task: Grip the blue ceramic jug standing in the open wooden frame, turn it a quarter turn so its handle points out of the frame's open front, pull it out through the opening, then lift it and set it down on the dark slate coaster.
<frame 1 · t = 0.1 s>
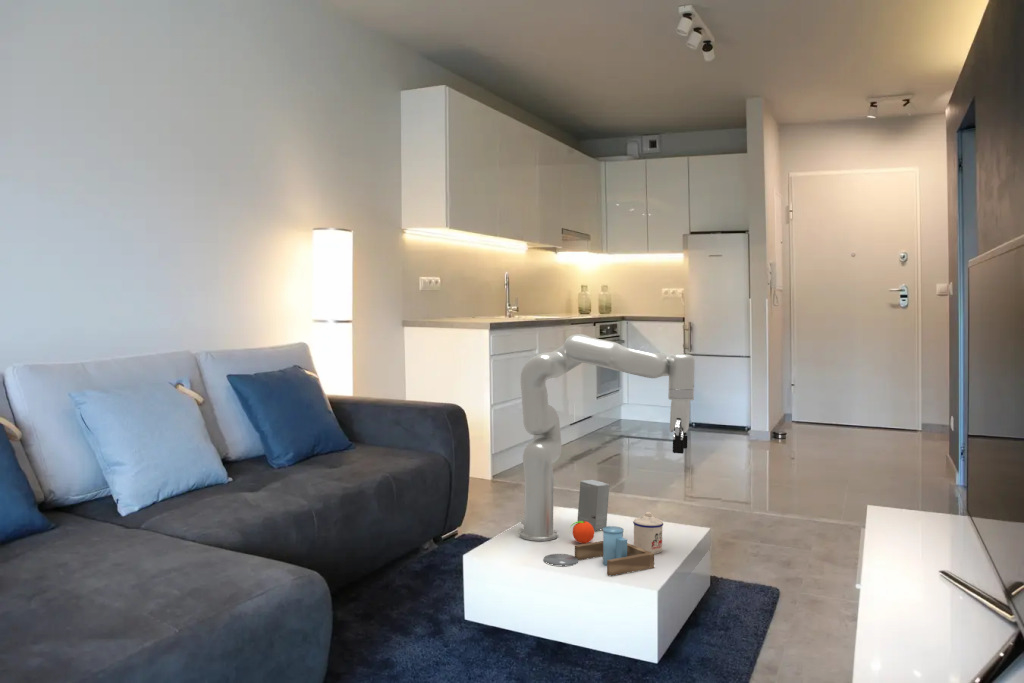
hand: (680, 450, 228), 31 cm above the table, tool pointing down, fingers open, 9 cm apart
jug: (615, 547, 216), in the open wooden frame
teacup with lid: (649, 549, 232), on the table
open wooden frame: (612, 563, 217), on the table
skincare box: (592, 528, 255), on the table
clementine: (581, 543, 237), on the table
coaster: (560, 560, 219), on the table
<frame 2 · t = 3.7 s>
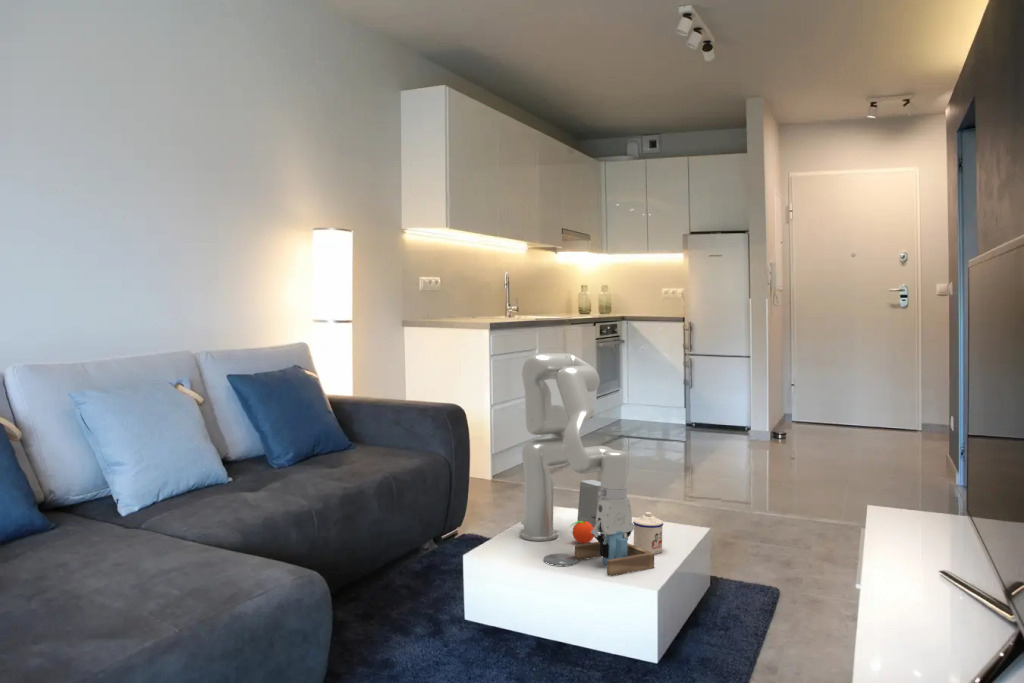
hand: (612, 554, 217), 3 cm above the table, tool pointing down, fingers closed on jug, 5 cm apart
jug: (615, 547, 216), in the open wooden frame, touching gripper
everything else where it was.
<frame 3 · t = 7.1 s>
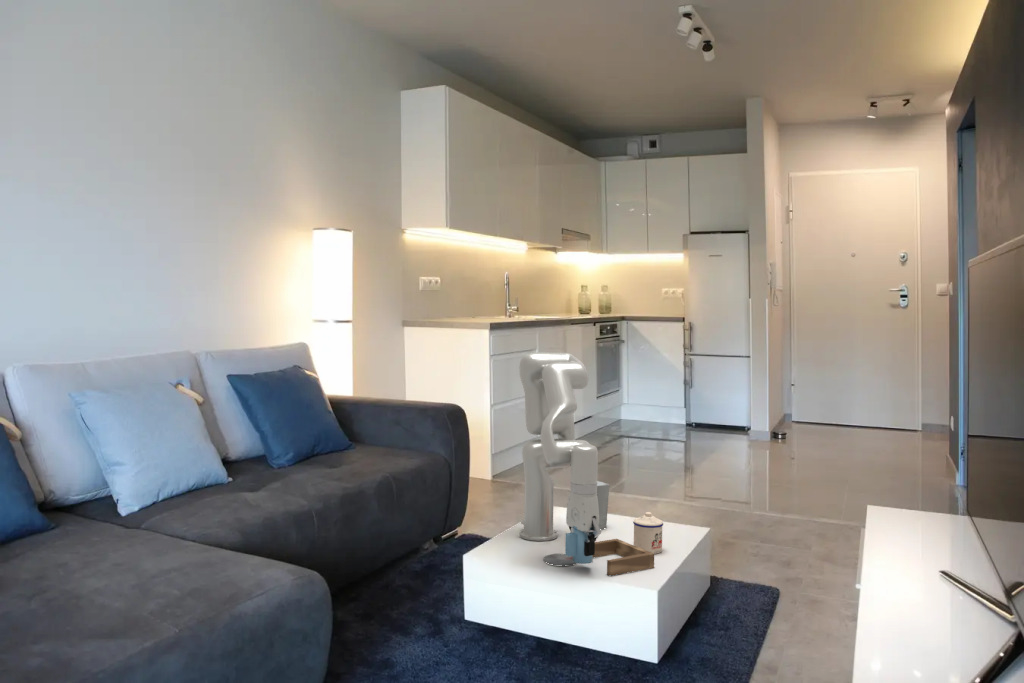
hand: (582, 551, 212), 5 cm above the table, tool pointing down, fingers closed on jug, 5 cm apart
jug: (579, 543, 211), point 7 cm above the table, touching gripper
everything else where it was.
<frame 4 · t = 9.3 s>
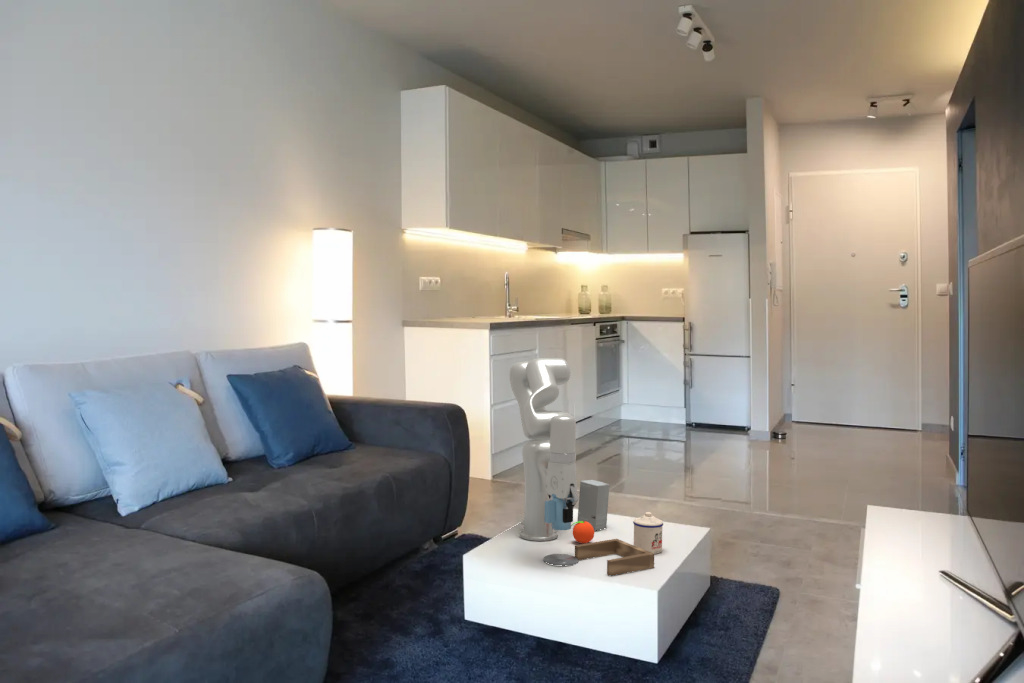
hand: (561, 519, 218), 12 cm above the table, tool pointing down, fingers closed on jug, 5 cm apart
jug: (558, 511, 218), point 15 cm above the table, touching gripper
everything else where it was.
when the fingers open (4 cm above the table, at t = 11.0 s): jug drops 1 cm, resting on coaster.
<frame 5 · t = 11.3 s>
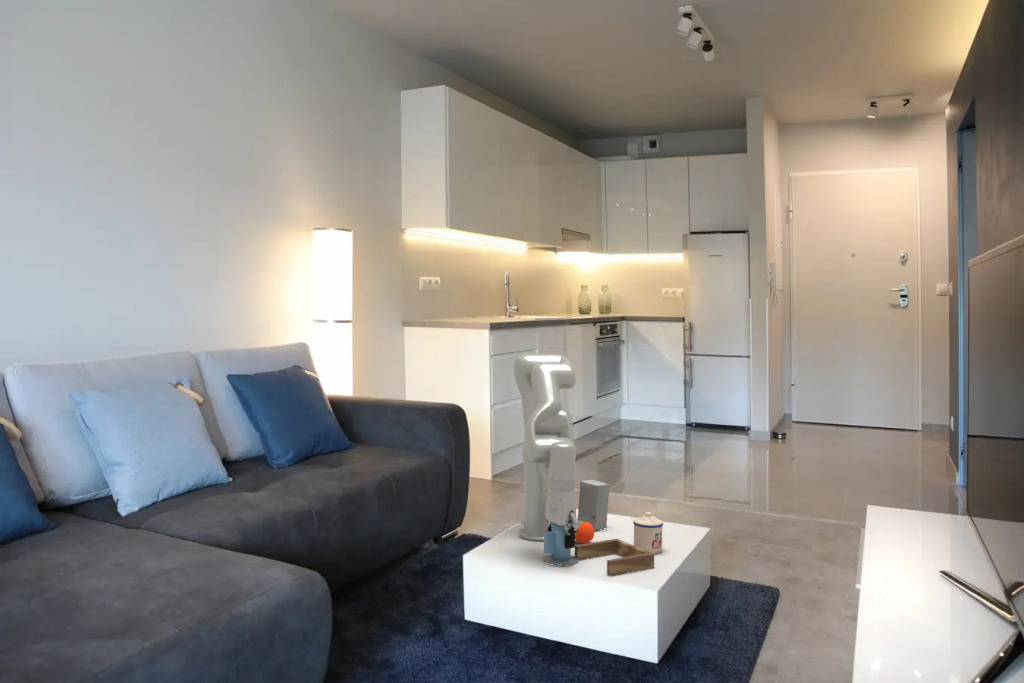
hand: (561, 543, 219), 5 cm above the table, tool pointing down, fingers open, 8 cm apart
jug: (557, 542, 218), on the coaster, point 6 cm above the table
everything else where it was.
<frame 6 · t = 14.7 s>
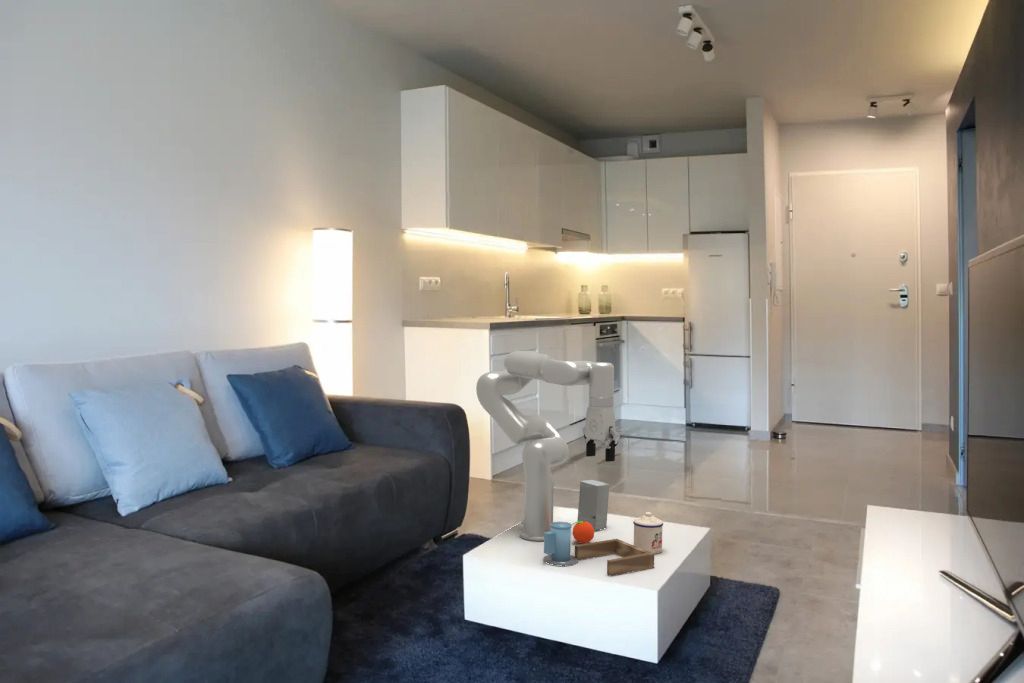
hand: (600, 458, 229), 28 cm above the table, tool pointing down, fingers open, 9 cm apart
nothing on the table moved.
at the end: jug inside the target area on the coaster (0.1 cm from its centre), point 5.6 cm above the coaster's base; jug tilted 0°; the gripper is holding nothing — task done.
